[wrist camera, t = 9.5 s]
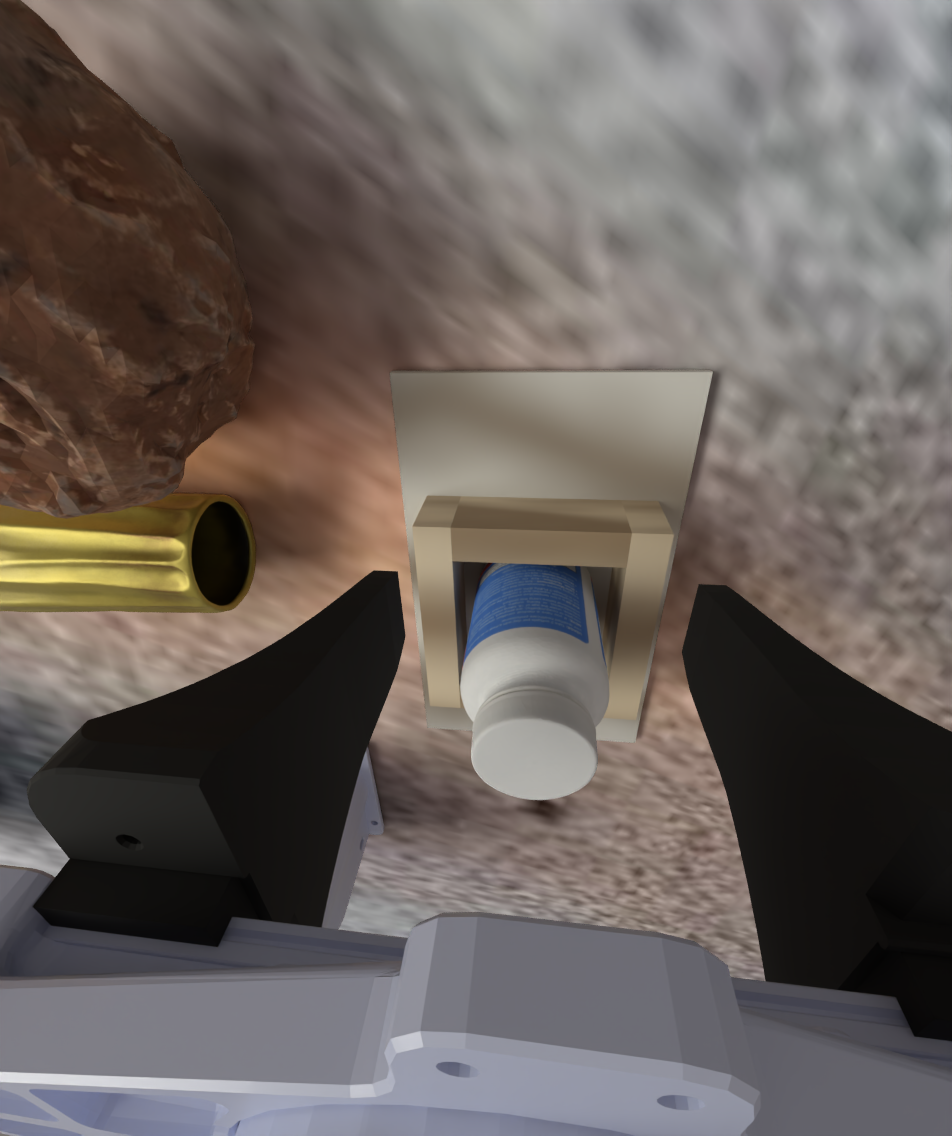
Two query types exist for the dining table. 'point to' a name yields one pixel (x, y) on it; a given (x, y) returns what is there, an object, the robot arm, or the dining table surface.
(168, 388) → the decorative rock
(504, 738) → the pill bottle
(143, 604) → the vase
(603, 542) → the socket block
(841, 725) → the robot arm
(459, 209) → the dining table surface
